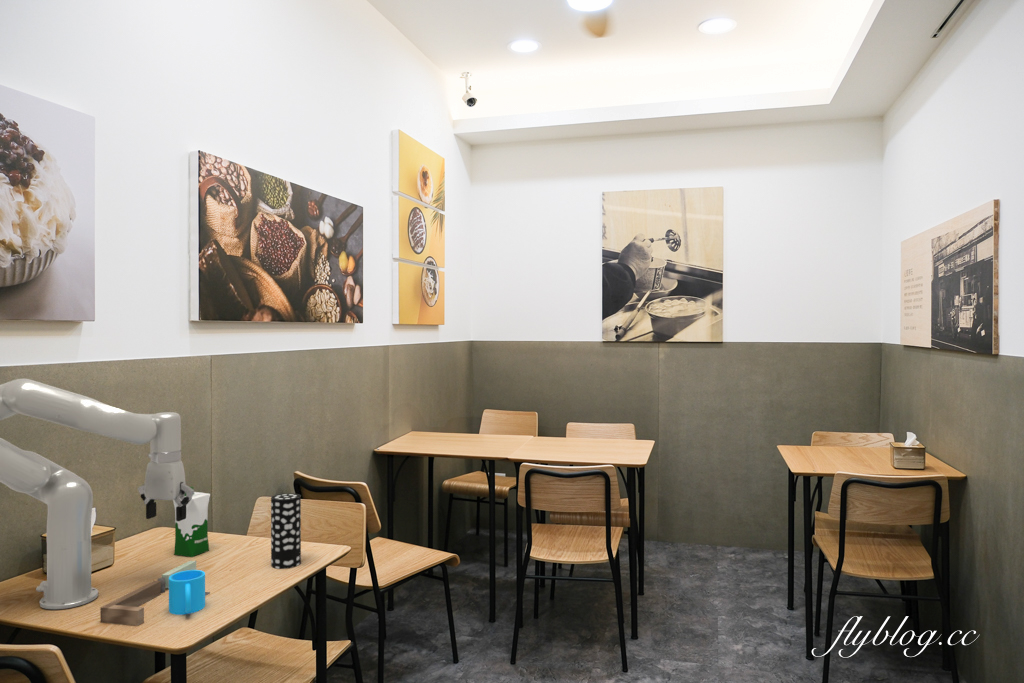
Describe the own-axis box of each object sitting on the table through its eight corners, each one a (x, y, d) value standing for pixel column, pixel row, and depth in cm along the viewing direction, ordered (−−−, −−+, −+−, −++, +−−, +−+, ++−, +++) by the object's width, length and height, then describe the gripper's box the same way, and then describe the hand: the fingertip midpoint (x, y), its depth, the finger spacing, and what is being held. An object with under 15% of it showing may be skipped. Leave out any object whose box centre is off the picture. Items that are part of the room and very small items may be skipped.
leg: (168, 588, 182) (168, 575, 181) (161, 587, 182) (161, 574, 182) (196, 573, 193) (196, 561, 193) (189, 572, 193) (189, 560, 193)
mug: (168, 605, 172) (168, 572, 172) (204, 599, 175) (204, 567, 175) (169, 623, 161) (168, 588, 161) (206, 617, 165) (206, 583, 165)
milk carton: (191, 547, 218) (191, 484, 218) (214, 550, 215) (213, 486, 215) (169, 555, 210) (169, 490, 210) (192, 558, 207) (192, 492, 207)
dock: (100, 622, 161) (100, 607, 161) (162, 589, 182) (162, 576, 182) (152, 627, 159) (152, 612, 159) (209, 593, 180) (209, 579, 180)
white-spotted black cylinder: (265, 567, 200) (265, 498, 199) (282, 558, 208) (282, 492, 207) (289, 570, 197) (289, 500, 197) (306, 561, 205) (306, 494, 205)
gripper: (129, 458, 188) (129, 520, 188) (183, 461, 184) (183, 524, 184) (149, 453, 195) (149, 513, 195) (202, 456, 191) (202, 517, 191)
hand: (166, 518), depth 190 cm, fingers open, 9 cm apart
